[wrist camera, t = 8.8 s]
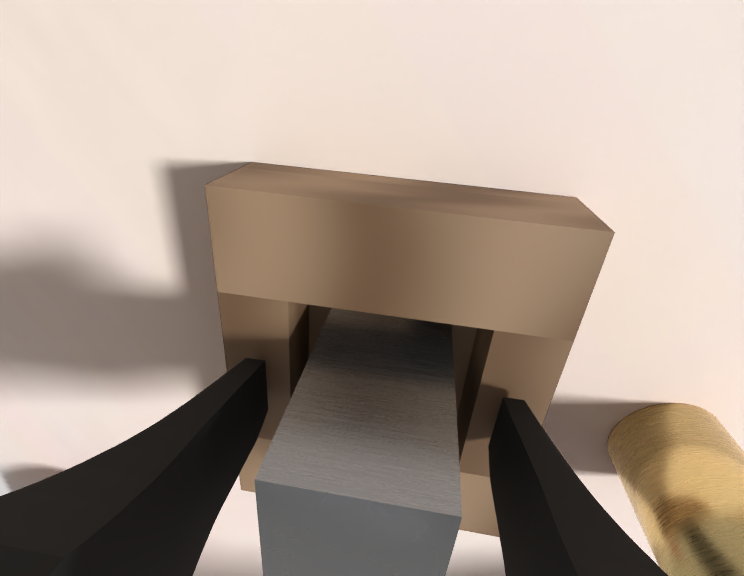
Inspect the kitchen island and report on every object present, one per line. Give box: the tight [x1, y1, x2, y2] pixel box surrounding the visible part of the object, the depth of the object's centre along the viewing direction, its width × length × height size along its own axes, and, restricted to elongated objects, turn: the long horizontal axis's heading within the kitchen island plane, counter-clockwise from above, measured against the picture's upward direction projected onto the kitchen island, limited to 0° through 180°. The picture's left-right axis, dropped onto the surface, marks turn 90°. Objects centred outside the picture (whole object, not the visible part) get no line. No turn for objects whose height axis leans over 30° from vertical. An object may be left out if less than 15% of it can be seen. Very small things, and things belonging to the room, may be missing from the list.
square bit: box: [254, 308, 462, 576], centre depth 12 cm, size 4×4×7 cm
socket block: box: [205, 162, 615, 537], centre depth 14 cm, size 10×12×3 cm
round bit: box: [607, 403, 744, 576], centre depth 13 cm, size 4×4×7 cm
